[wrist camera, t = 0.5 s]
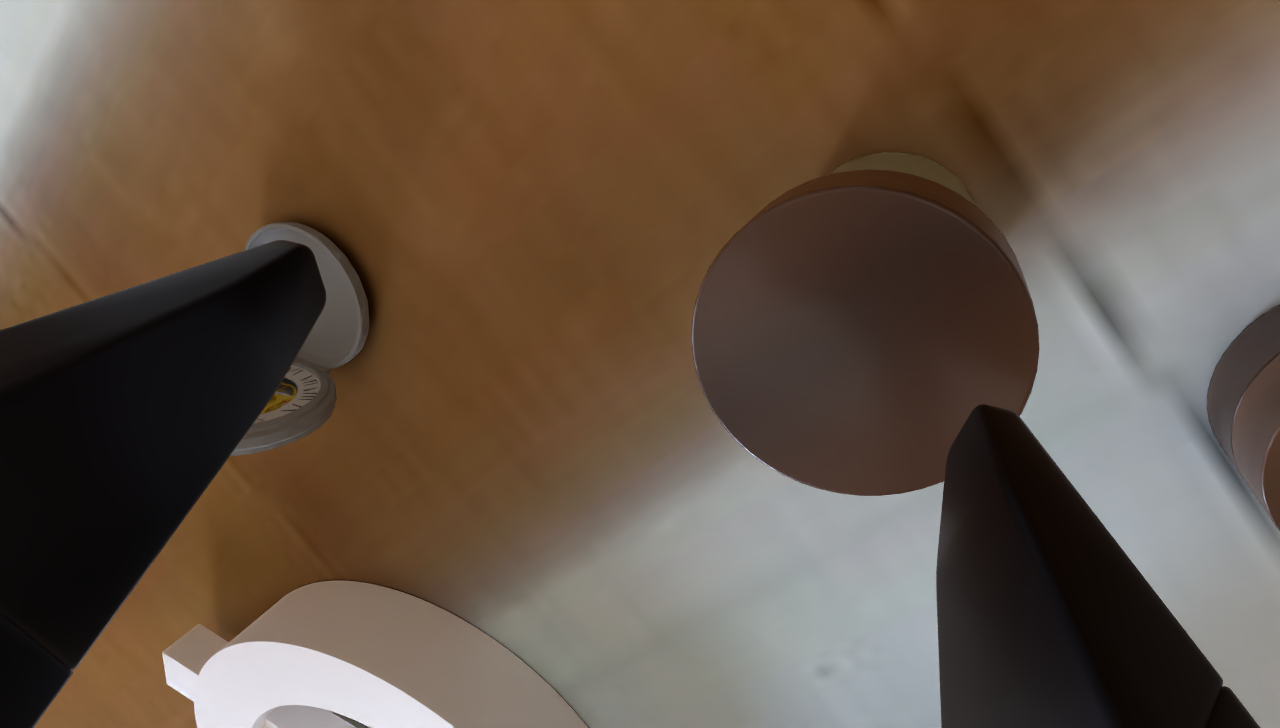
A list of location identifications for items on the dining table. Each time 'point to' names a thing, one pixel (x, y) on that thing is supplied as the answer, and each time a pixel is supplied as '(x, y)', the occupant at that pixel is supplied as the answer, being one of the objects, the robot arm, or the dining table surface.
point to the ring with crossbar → (359, 668)
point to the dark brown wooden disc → (863, 330)
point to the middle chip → (1261, 439)
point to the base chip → (1240, 374)
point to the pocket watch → (312, 345)
